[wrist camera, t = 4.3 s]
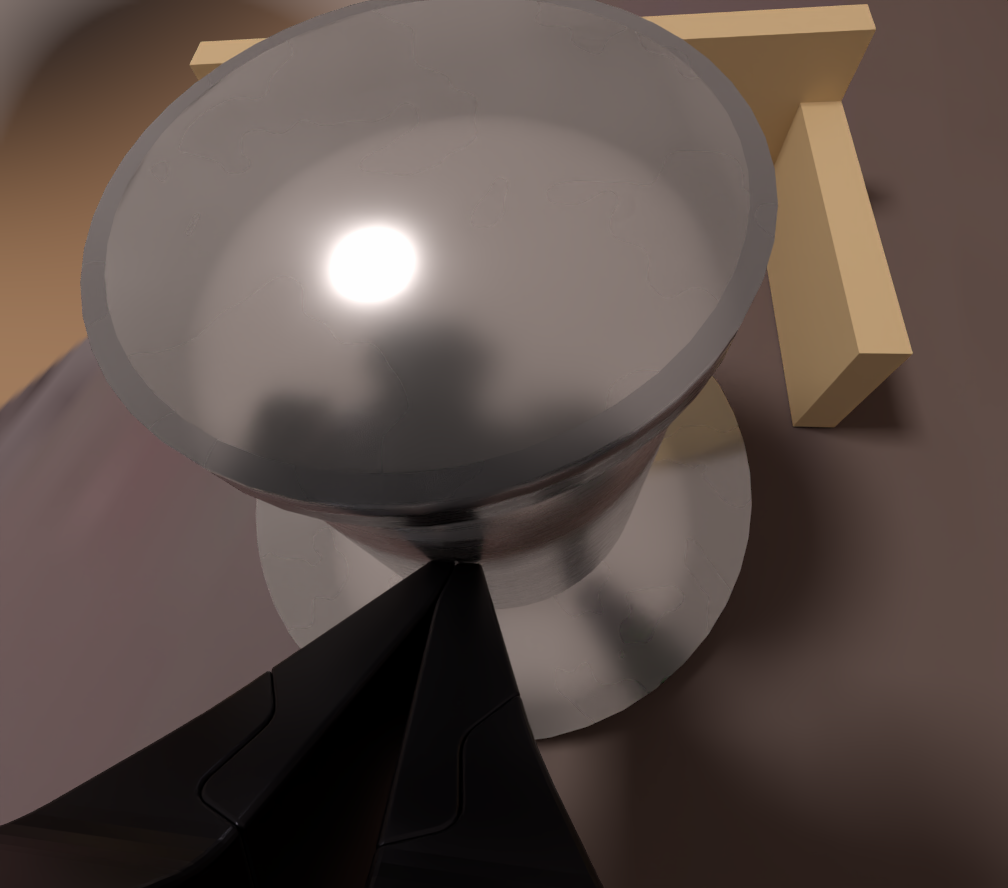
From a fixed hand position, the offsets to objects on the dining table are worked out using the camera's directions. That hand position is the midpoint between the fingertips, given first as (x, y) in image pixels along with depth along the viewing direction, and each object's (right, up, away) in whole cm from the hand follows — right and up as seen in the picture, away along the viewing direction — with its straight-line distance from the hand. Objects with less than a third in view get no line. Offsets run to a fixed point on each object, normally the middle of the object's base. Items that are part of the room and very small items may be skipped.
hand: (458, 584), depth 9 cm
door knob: (+1, +1, +8) cm, 8 cm away
